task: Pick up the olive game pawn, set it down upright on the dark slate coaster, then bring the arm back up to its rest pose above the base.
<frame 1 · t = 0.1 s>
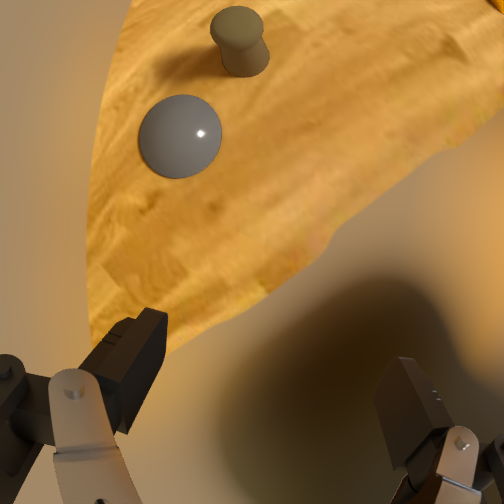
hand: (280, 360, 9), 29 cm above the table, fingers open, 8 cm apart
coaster: (179, 136, 35), on the table
olive game pawn: (245, 57, 31), on the table
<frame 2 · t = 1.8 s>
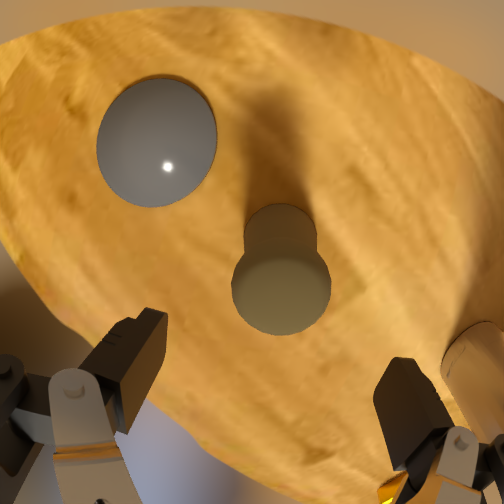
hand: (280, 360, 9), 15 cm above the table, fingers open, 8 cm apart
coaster: (153, 142, 22), on the table
element tile: (423, 475, 36), on the table
olive game pawn: (280, 239, 24), on the table
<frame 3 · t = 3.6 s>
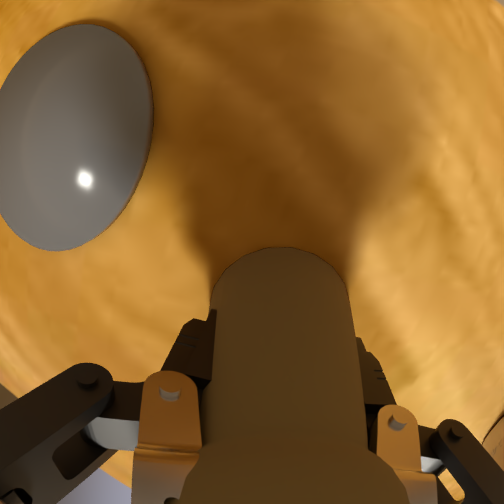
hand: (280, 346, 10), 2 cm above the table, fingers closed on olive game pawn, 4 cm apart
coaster: (52, 135, 11), on the table
olive game pawn: (279, 312, 13), on the table, touching gripper
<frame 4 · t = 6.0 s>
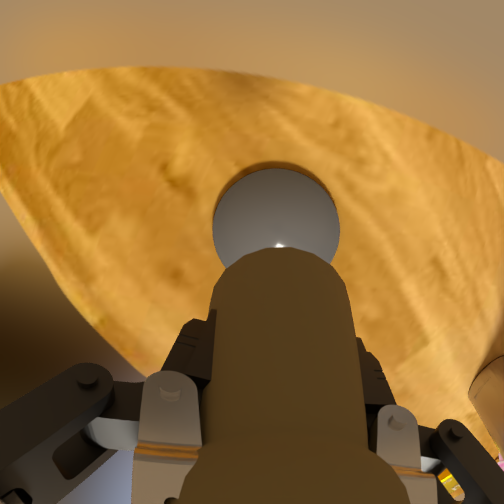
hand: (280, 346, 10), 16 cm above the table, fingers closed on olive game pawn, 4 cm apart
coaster: (276, 231, 26), on the table
element tile: (442, 473, 40), on the table
lily: (502, 453, 39), on the table
olive game pawn: (280, 312, 13), point 14 cm above the table, touching gripper
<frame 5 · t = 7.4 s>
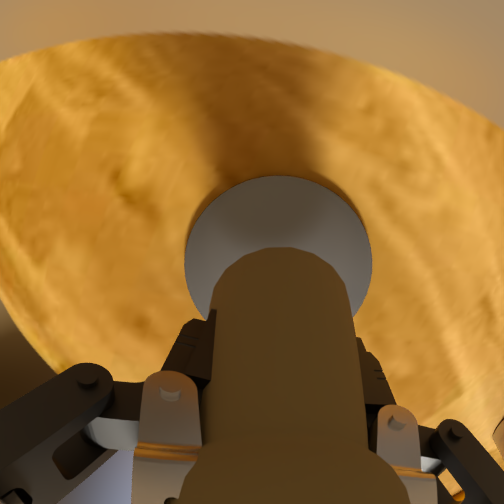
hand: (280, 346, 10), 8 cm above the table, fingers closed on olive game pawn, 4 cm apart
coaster: (278, 270, 17), on the table
element tile: (452, 502, 31), on the table
olive game pawn: (280, 312, 13), point 5 cm above the table, touching gripper
when the fingers open (4 cm above the table, at t = 8.4 s): olive game pawn drops 1 cm, resting on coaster.
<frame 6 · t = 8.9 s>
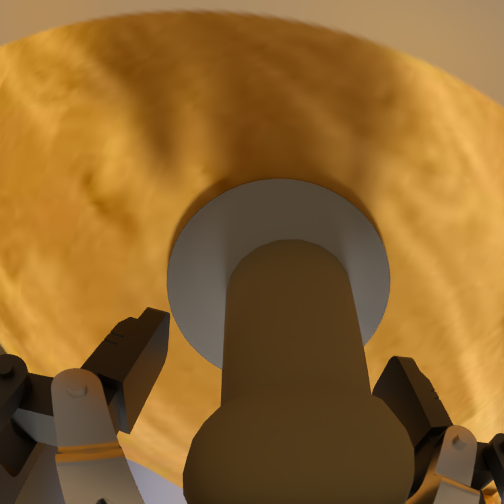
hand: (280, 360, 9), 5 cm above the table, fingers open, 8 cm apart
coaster: (279, 292, 14), on the table
olive game pawn: (289, 298, 14), resting on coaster
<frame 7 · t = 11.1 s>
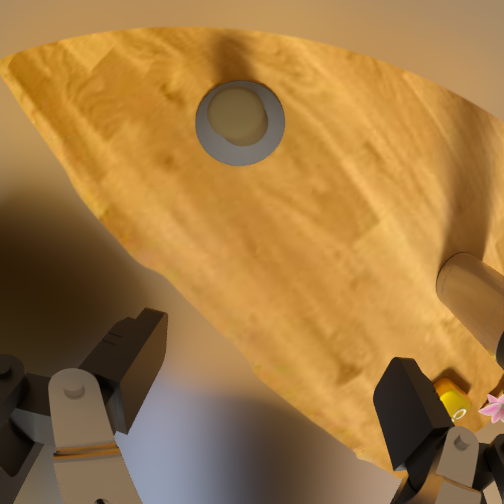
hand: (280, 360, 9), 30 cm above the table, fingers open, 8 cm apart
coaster: (240, 122, 34), on the table
element tile: (431, 406, 49), on the table
lily: (492, 396, 49), on the table
olive game pawn: (243, 122, 34), resting on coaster
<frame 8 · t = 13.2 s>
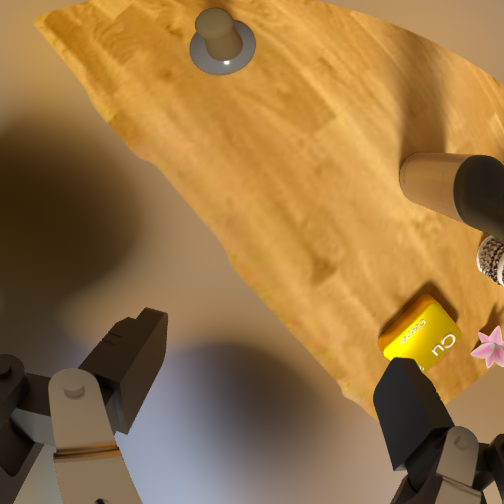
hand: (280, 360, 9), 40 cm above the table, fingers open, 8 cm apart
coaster: (222, 46, 40), on the table
element tile: (417, 332, 54), on the table
lily: (484, 337, 53), on the table
decorative candle: (489, 254, 47), on the table
olive game pawn: (225, 46, 40), resting on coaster
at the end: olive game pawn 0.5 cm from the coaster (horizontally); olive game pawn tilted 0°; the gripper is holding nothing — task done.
